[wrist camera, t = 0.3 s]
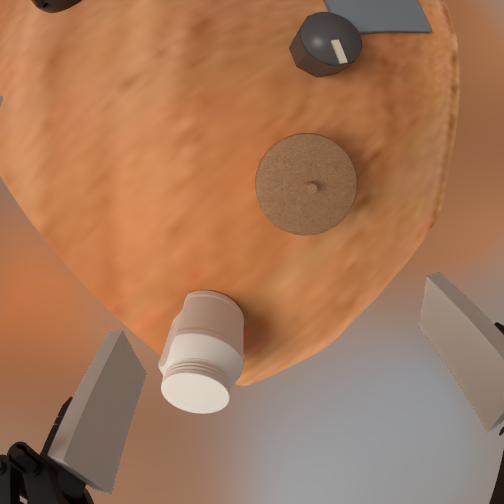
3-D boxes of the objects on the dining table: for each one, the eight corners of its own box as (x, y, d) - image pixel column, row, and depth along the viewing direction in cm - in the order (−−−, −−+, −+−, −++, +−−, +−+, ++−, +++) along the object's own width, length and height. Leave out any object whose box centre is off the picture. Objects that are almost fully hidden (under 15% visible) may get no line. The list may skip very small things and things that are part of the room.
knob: (283, 35, 27) (292, 15, 20) (332, 27, 26) (349, 8, 20) (301, 80, 29) (315, 68, 23) (350, 71, 29) (371, 59, 22)
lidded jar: (254, 131, 32) (258, 129, 24) (338, 138, 32) (368, 140, 24) (252, 214, 36) (253, 240, 28) (331, 217, 37) (356, 243, 28)
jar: (196, 279, 40) (174, 351, 26) (252, 308, 42) (255, 384, 28) (167, 330, 44) (144, 401, 30) (217, 354, 46) (210, 426, 32)
